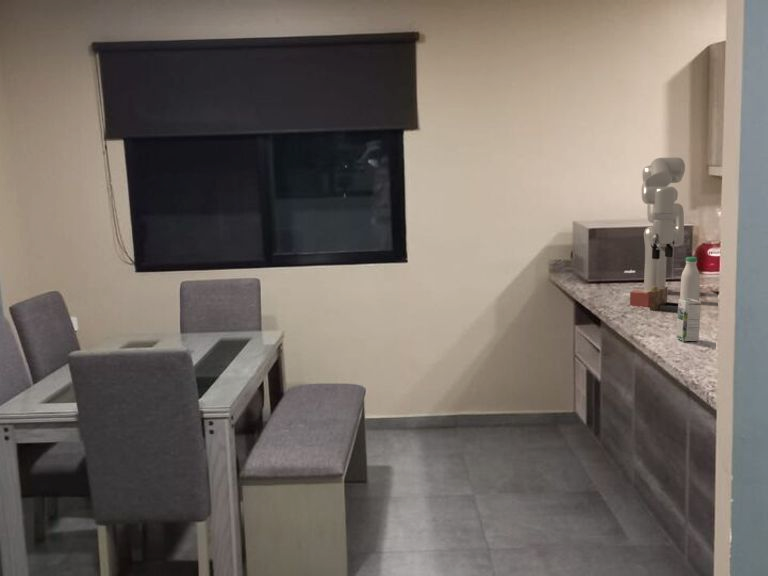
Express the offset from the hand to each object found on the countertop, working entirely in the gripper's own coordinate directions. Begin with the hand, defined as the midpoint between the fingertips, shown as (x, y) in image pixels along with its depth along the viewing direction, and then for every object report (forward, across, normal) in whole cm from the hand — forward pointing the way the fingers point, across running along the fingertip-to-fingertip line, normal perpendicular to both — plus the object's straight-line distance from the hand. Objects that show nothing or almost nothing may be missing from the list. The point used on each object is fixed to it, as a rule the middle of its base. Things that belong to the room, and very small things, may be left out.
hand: (662, 257), depth 318 cm
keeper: (+22, -1, +7) cm, 23 cm away
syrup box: (+22, +45, +38) cm, 63 cm away
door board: (+21, 0, 0) cm, 21 cm away
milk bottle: (+22, -20, +2) cm, 29 cm away
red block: (+22, +1, -8) cm, 23 cm away
